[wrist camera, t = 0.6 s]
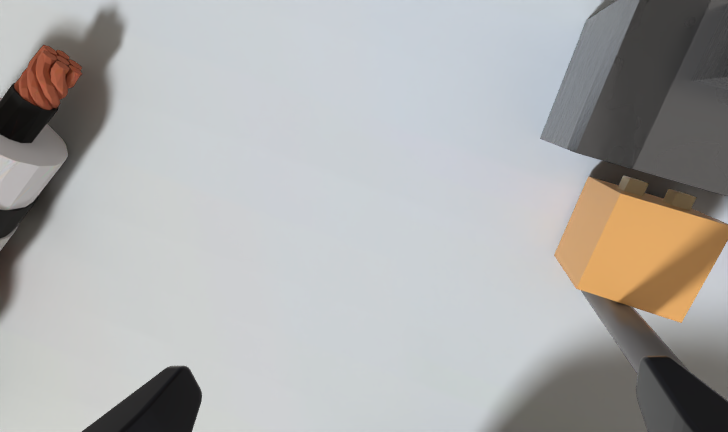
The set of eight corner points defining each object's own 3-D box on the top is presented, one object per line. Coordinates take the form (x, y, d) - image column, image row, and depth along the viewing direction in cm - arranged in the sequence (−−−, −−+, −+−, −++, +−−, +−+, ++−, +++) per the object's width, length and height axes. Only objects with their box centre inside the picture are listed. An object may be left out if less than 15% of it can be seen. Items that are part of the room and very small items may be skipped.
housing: (747, 198, 21) (953, 263, 12) (540, 138, 22) (594, 159, 13) (815, 77, 19) (1109, 54, 10) (586, 20, 20) (681, -43, 12)
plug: (626, 304, 23) (766, 466, 13) (543, 277, 23) (613, 412, 13) (684, 191, 21) (903, 273, 11) (593, 164, 21) (718, 218, 11)
